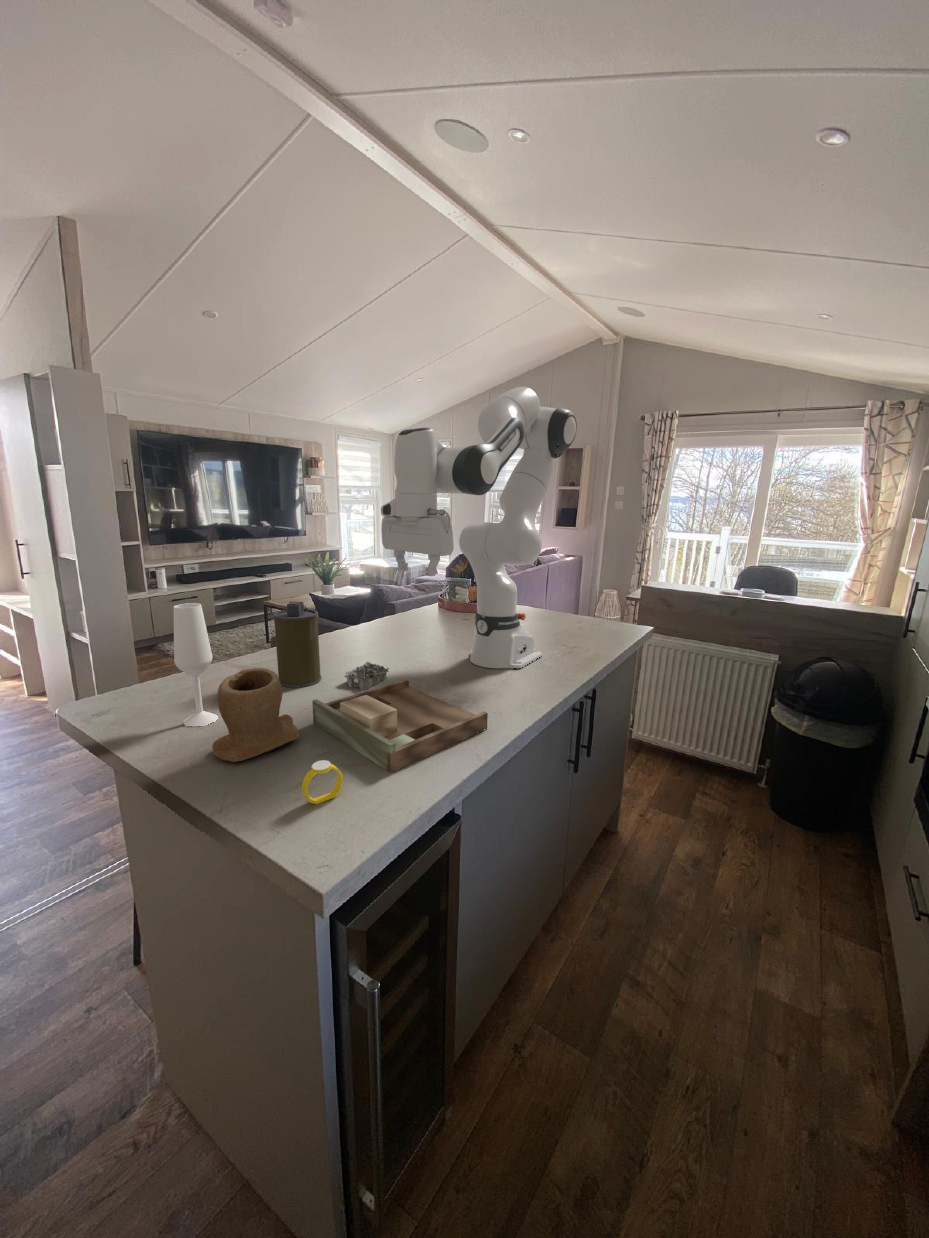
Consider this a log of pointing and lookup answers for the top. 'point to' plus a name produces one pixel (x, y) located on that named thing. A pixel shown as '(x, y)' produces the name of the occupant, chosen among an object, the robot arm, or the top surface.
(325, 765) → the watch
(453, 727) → the brown shallow open piece
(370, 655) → the top surface
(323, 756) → the top surface
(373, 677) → the egg carton
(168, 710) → the top surface
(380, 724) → the block
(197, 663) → the champagne flute
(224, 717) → the clay pipe
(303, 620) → the canister
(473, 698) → the top surface
